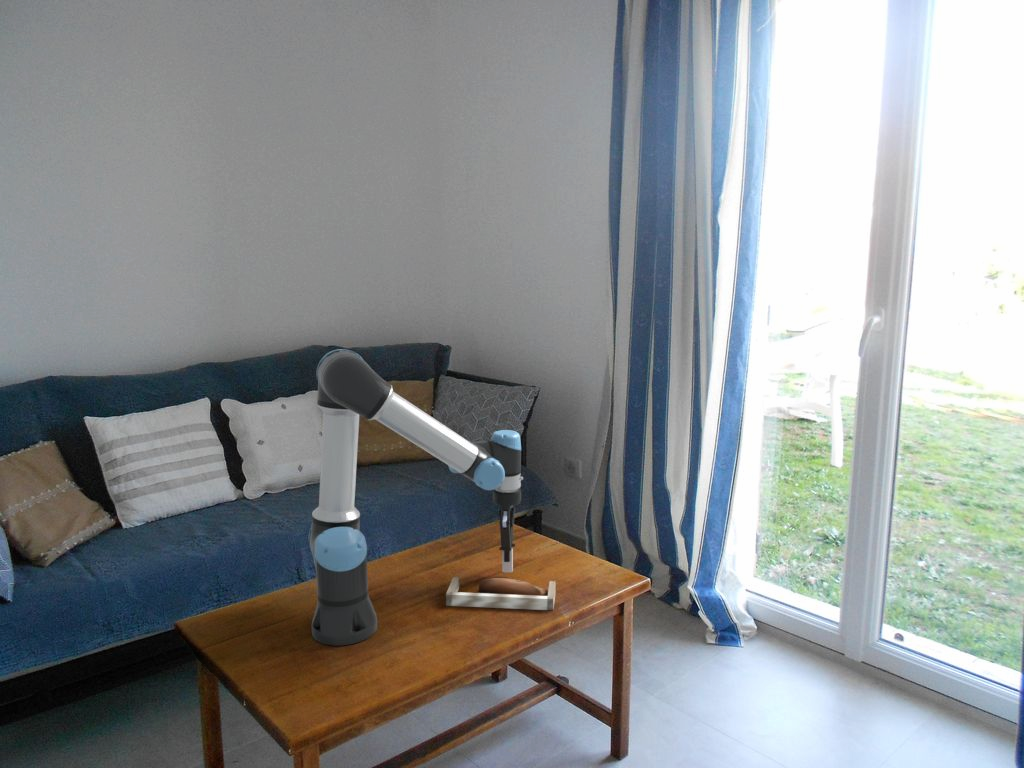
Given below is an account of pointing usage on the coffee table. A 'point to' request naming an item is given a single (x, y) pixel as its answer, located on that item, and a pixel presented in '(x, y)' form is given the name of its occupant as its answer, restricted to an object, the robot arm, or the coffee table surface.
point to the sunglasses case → (510, 587)
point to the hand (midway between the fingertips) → (507, 571)
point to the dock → (499, 599)
